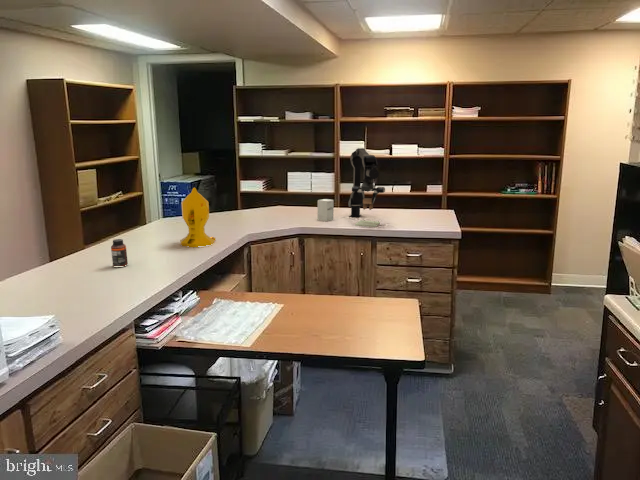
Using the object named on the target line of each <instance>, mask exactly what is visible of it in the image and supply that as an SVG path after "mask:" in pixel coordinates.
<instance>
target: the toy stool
mask: <svg viewBox="0 0 640 480" xmlns="http://www.w3.org/2000/svg"><path fill="white" fill-rule="evenodd" d="M372 198H373V197H371V198H370V197H364V199H363V207H362V209H363V211H364V210H367V208H368V207H369V208H368V210H369V211H372V209H373V208H374V203H373V204H372ZM368 205H369V206H368Z"/></svg>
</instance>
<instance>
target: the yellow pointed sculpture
mask: <svg viewBox="0 0 640 480" xmlns="http://www.w3.org/2000/svg"><path fill="white" fill-rule="evenodd" d="M209 204H210V203H209V201H208V200H207V199H206V198H205V197H204V196H203V195H202V194H201V193H199V192H198V190H197V188H196V187H193V188H192V189H191V192H189V194H187V195H186V197H185V198H184V199H183V200H182V201H181V215H182V216H181V218H182V219H183V221H184V222H185V224H186V225H187V229H188V233H187V234H186V236H185V237H183V238H181V239H179V244H180V246H181V245H182V246H181V247H183V246H189V247H198V246H206V245H211V244H213V243H214V244H215V241H217V240H216V237H214V236H209V235H207V233H206V232H205V227H206V224H207V223H208V221H209V218H210V205H209ZM214 244H213V245H214ZM211 246H212V245H211Z"/></svg>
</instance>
